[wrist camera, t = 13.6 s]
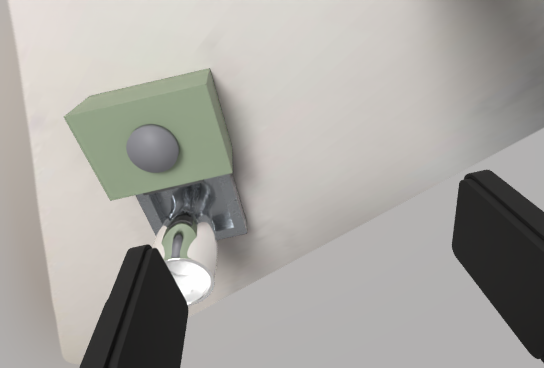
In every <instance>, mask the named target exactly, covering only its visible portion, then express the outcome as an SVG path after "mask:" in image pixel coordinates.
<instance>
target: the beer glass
mask: <svg viewBox="0 0 544 368" xmlns="http://www.w3.org/2000/svg"><path fill="white" fill-rule="evenodd" d="M216 201H217V200H216V195H215V193H214V191H213V190H212V188H211V187H210V186H208V185H207V184H205V183H203V182H202V183H198V184H193V185H189V186H184V187H180V188H176V189H174V190H173V191H172V194H171V198H170V203H171V210H170V213H169V214H168V216H167V218H166V219H165V221H164V223H163V224H162V226H161V228H160V230H159V232H158V234H157V236H156V238H155V241H154V244H153V246H152V248H157V249H158V250H159V252H160V254H161V256H162V258H163V259H164V261H165V263H166V265H167V267H168V268H169V270H170V272H171V274H172V276H173V278H174V279H175V281H176V283H177V285H178V287H179V289H180V290H181V292H182V294H183V296H184V298H185V299H186V301H187V304H188V305H193V304H196V303H199V302H201V301H202V300H204V299H205V298H207V297H208V296H209V295H210V293H211V292H212V290H213V288H214V279H215V273H216V267H217V256H218V244H217V237H216V232H215V227H214V223H213V218H212V216H213V212H214V209H215V207H216Z"/></svg>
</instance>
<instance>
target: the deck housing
mask: <svg viewBox="0 0 544 368" xmlns="http://www.w3.org/2000/svg"><path fill="white" fill-rule="evenodd" d="M64 118H65V120H66V122H67V124H68V126H69V127H70V129H71V131H72V133H73V135H74V136H75V138H76V140H77V142H78V144H79V145H80V147H81V149H82V151H83V153H84V154H85V156H86V158H87V160H88V162H89V163H90V165H91V167H92V169H93V171H94V172H95V174H96V176H97V178H98V180H99V181H100V183H101V185H102V187H103V189H104V190H105V192H106V194H107V196H108V198H109V199H110V201H112V200H116V199H120V198H125V197H129V196H133V195H138V194H142V193H143V195H144V196H145V195H149V194H154V193H158V192H163V191H167V190H171V189H176V188H180V187H184V186H189V185H193V184H198V183H202V182H204V179H208V178H212V177H217V176H221V175H225V174H230V173H233V167H232V145H231V141H230V138H229V134H228V131H227V127H226V124H225V120H224V117H223V113H222V110H221V106H220V103H219V100H218V96H217V93H216V89H215V86H214V82H213V79H212V75H211V72H210V68H209V69H205V70H200V71H196V72H192V73H187V74H183V75H179V76H174V77H170V78H166V79H161V80H157V81H153V82H148V83H144V84H140V85H135V86H131V87H127V88H122V89H118V90H114V91H109V92H105V93H101V94H96V95H92V96H89V97H88V98H87V99H85V100H84V101H83V102H82V103H80V104H79V105H78V106H77V107H75V108H74V109H73V110H72V111H70V112H69V113H68V114H67V115H65V116H64Z"/></svg>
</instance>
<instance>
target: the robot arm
mask: <svg viewBox="0 0 544 368" xmlns="http://www.w3.org/2000/svg"><path fill="white" fill-rule="evenodd" d="M452 249H453V252H454V254H455V256H456V258H457V259H458V260H459V262H460V263H461V264H462V265H463V267H464V268H465V269H466V271H467V272H468V273H469V274H470V276H471V277H472V278H473V280H474V281H475V282H476V284H477V285H478V286H479V288H480V289H481V290H482V292H483V293H484V294H485V295H486V297H487V298H488V299H489V300H490V302H491V303H492V305H493V306H494V307H495V308H496V310H497V311H498V312H499V314H500V315H501V316H502V318H503V319H504V320H505V322H506V323H507V324H508V325H509V327H510V328H511V329H512V331H513V332H514V333H515V335H516V336H517V337H518V339H519V340H520V341H521V342H522V344H523V345H524V346H525V348H526V349H527V350H528V351H529V353H530V354H531V355H532V356H533V357H535V358H537V359H541V360H542V361H543V362H544V212H543V211H542V210H541V209H539V208H538V207H537V206H535V205H534V204H533V203H531V202H530V201H529V200H528V199H526V198H525V197H524V196H522V195H521V194H520V193H519V192H517V191H516V190H515V189H513V188H512V187H511V186H510V185H509V184H507V183H506V182H505V181H503V180H502V179H501V178H499V177H498V176H497V175H496V174H494V173H493V172H492V171H490V170H483V171H479V172H474V173H469V174H467V175H466V176H465V177H464V180H461V181H460V183H459V190H458V198H457V207H456V215H455V224H454V232H453V240H452ZM187 318H188V304H187V301H186V299H185V298H184V296H183V294H182V292H181V290H180V289H179V287H178V285H177V283H176V281H175V279H174V278H173V276H172V274H171V272H170V270H169V268H168V267H167V265H166V263H165V261H164V259H163V258H162V256H161V254H160V252H159V250H158V249H157V248H152V247H151V246H150V245H143V246H138V247H134V248H130V249H129V250H128V251H127V254H126V256H125V259H124V261H123V264H122V266H121V269H120V271H119V274H118V276H117V279H116V281H115V284H114V286H113V289H112V291H111V294H110V296H109V299H108V300H107V302H106V303H105V306H104V308H103V311H102V313H101V315H100V318H99V320H98V323H97V325H96V328H95V330H94V333H93V335H92V338H91V340H90V343H89V345H88V348H87V350H86V353H85V355H84V358H83V360H82V363H81V365H80V368H180V365H181V359H182V351H183V345H184V338H185V331H186V324H187Z"/></svg>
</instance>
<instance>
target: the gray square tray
mask: <svg viewBox="0 0 544 368" xmlns="http://www.w3.org/2000/svg"><path fill="white" fill-rule="evenodd" d="M203 183H205V184H207V185H208V186H210V187H211V188H212V190H213V191H214V193H215V195H216V200H217V201H216V207H215V209H214V212H213V216H212V218H213V223H214V227H215V232H216V237H217V240H219V239H224V238H228V237H233V236H237V235H241V234H246V233H247V224H246V218H245V215H244V211H243V208H242V205H241V201H240V198H239V195H238V191H237V188H236V185H235V181H234V178H233V175H232V173H230V174H225V175H221V176H217V177H212V178H208V179H204V182H203ZM173 190H174V189H171V190H167V191H163V192H158V193H154V194H149V195H145V196H144V195H143V193H142V194H138V195H136V197H137V199H138V201H139V203H140V205H141V207H142V209H143V211H144V213H145V215H146V217H147V219H148V221H149V223H150V225H151V227H152V229H153V231H154V233H155V235H156V236H157V234H158V232H159V230H160V228H161V226H162V224H163V223H164V221H165V219H166V218H167V216H168V214H169V213H170V210H171V203H170V198H171V194H172V191H173Z"/></svg>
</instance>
